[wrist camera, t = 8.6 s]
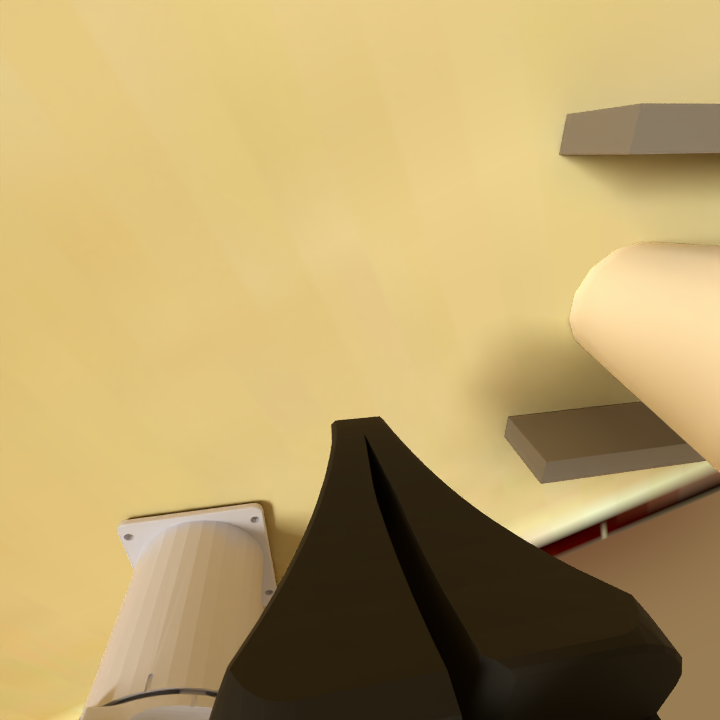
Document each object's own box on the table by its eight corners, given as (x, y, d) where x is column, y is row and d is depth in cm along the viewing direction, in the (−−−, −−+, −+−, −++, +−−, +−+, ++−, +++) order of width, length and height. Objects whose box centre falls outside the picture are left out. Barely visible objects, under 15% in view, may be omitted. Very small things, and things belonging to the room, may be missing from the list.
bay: (720, 410, 27) (786, 449, 23) (504, 436, 25) (540, 483, 21) (865, 114, 19) (998, 104, 15) (567, 114, 17) (641, 103, 13)
